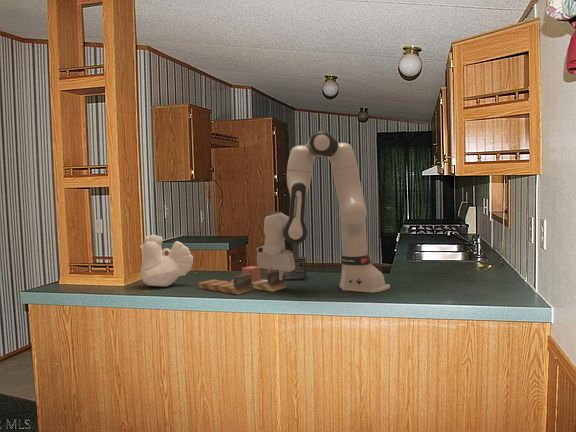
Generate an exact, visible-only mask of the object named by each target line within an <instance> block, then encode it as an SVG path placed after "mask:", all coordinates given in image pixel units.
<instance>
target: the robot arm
mask: <svg viewBox="0 0 576 432" xmlns="http://www.w3.org/2000/svg"><path fill="white" fill-rule="evenodd" d="M323 157H324V158H325V157H327V158H328V160H329V161H330V164H331V170H332V175H333V180H334V185H335V191H336V196H337V201H338V206H339V207H338V208H339V213H340V233H341V234H340V235H341V237H340V238H341V255H340V261H341V262H340V263H341V275H340V276H341V277H340V283H339V285H338V287H339V288H340V289H341V291H348V292H349V291H350V292H361V293H380V292H384V291H387V290H388V289H390V288H391V284H389V283H387V284H386V282H385V276H384V274H383V273H382V272H381V271H380V270H379V269H378V268H377V267H376V266H374V265H373V264H372V263H371V262H372V261H371V260H373V256H369V255H368V246H367V245H368V242H367V241H368V240H367V225H366V217H367V212H368V211H367V206H366V201H365V198H364V197H365V196H364V193H363V192H364V191H363V187H362V184H361V183H362V182H361V179H360V174H359V173H360V172H359V168H358V163H357V158H356V155H355V151H354V149H353V147H352V146H351V144H349V143H348V142H338V141H337V140H336V139H335V138H334V136H333V135H332V134H331V133H330V132H328V131H326V130H322V129H321V130H317V131H315V132H313V133H312V134H311V135H310V137H309V139H308V141H307V143H306V144H305V145H304V144H301V145H296V146H294V147H292V148H291V149H290V153H289V157H288V160H287V166H286V167H287V168H286V186H287V189H288V192H289V193H288V194H289V197H290V198H289V199H290V204H289V213H288V214H289V216H288V215H286V214H284V213H283V212H281V211H274V212H270V213H268V214H266V215H265V217H264V222H263V233H264V236H265V237H264V245H261V246H259V247H257V248H256V253H257V254H256V267H258V268H260V269H264V270H267V274H269V273H273V272H274V271H279V273H280V274H279V276H277V278H278V279H277V280H280V281H281V280H282V279H283V278H282V276H283V274H284V271H287V272H290V271H294V269H295V262H294V257H295V256H294V253H293V251H292V250H290V249H286V245H285V244H286V243H285V241H286V242H287V243H288V244H291V245H295V246H296V245H300V244H302V243H303V242H305V240H306V239H307V236H308V229H307V226H306V224H305V207H306V198H307V196H308V191H309V188H310V185H311V182H312V175H313V165H314V161H315V160H316V159H318V158H323Z"/></svg>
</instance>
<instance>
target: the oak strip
mask: <svg viewBox="0 0 576 432" xmlns="http://www.w3.org/2000/svg"><path fill="white" fill-rule="evenodd" d="M232 280H234V282H231V281H228V280H220V279H216V278H215V279H209V280H205V281H201V282H198V289H201V290H209V291H215V292H221V293H227V294H232V295H242V294H245V293H246V294H247V293H249V292H253V290H254V289H253V285H252V280H251V274H242V273H241V274H239V275H236V276H233V279H232Z"/></svg>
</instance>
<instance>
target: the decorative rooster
mask: <svg viewBox="0 0 576 432" xmlns="http://www.w3.org/2000/svg"><path fill="white" fill-rule="evenodd" d="M143 240H144V243H143V244H141V245H139V248H140V249H141V250H142V251H141V253H142V255H141V258H142V262H141V266H140V278H141V280H142V282H143V283H144V284H145V285H146V286H149V287H150V286H151V287H170V286H171V285H172V284H174V282H175V281H177V280H178V278H179V277H182V276H186V275H187V273H188V272H191V271H192V267H193V263H194V255H192V254H191V251H190V249H189V247H187V246H186V245H184V243H182V242H180V241H178V240H176V241H174V242H173V244H172V247H171V249H170V248H168V247H167V248H166V247H165V248H162V244H163V241H164V238H163V237H162V236H160V235H157V234H151V235H146V236H144V239H143ZM165 252H168V254H167V255H166V254H165ZM169 285H170V286H169Z"/></svg>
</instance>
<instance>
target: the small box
mask: <svg viewBox="0 0 576 432" xmlns="http://www.w3.org/2000/svg"><path fill="white" fill-rule="evenodd" d="M293 257H294V262H295V269H294V271H290V272H287V271H284V274H285V281H306V280H307V261H306V260H307V259H306V256H293Z"/></svg>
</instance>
